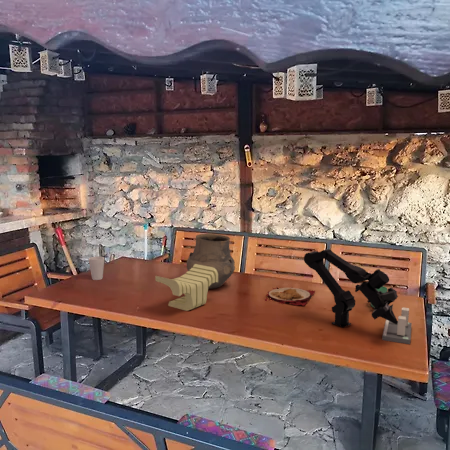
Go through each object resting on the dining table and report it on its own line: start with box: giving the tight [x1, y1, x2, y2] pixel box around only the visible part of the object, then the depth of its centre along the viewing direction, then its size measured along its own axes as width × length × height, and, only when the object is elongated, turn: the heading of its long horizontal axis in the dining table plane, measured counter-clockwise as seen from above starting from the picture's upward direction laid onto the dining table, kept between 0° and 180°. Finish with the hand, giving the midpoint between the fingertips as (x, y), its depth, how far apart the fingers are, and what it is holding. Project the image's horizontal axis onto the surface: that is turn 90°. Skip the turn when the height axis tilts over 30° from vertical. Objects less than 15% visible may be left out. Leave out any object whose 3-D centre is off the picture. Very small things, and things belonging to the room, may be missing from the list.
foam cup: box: [88, 255, 105, 281], centre depth 284 cm, size 10×9×13 cm
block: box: [397, 315, 406, 336], centre depth 194 cm, size 3×4×7 cm
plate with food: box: [264, 286, 316, 307], centre depth 251 cm, size 25×26×4 cm
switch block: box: [381, 319, 412, 345], centre depth 201 cm, size 11×21×2 cm, turn 157°
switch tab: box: [400, 307, 410, 326], centre depth 205 cm, size 3×4×7 cm
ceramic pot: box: [186, 233, 236, 290], centre depth 268 cm, size 28×28×30 cm
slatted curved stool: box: [155, 264, 218, 312], centre depth 235 cm, size 30×16×18 cm, turn 143°
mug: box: [370, 285, 389, 309], centre depth 232 cm, size 15×10×10 cm
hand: (397, 323), depth 194 cm, fingers closed
